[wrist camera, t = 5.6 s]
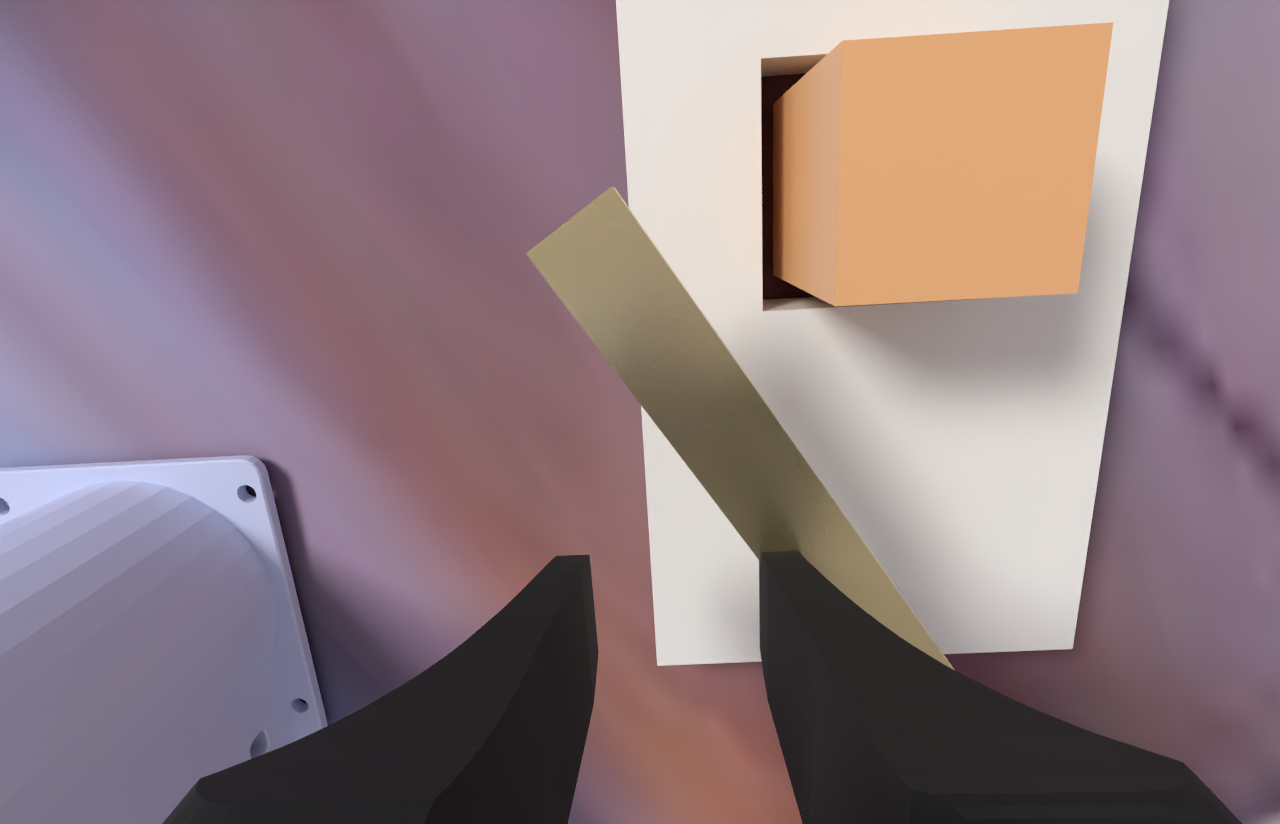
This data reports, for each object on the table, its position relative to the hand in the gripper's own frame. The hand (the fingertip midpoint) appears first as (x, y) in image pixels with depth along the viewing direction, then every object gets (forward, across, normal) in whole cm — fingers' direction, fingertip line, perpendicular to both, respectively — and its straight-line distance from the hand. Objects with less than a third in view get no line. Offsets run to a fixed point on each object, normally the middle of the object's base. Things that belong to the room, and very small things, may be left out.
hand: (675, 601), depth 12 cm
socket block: (+7, -5, -3) cm, 9 cm away
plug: (+7, -5, -7) cm, 11 cm away
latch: (+1, -2, -1) cm, 3 cm away
